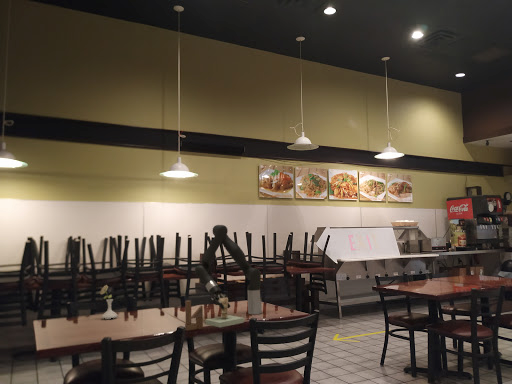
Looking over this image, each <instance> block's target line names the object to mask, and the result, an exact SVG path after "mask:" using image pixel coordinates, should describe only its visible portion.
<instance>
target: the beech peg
mask: <svg viewBox="0 0 512 384" xmlns="http://www.w3.org/2000/svg"><path fill="white" fill-rule="evenodd" d="M228 299H229V297H228V298H220V300H221V303H222V304H223V306H224V309H223V310H222V309H221V308H220V309H221V310H220V311H221V317H222V318H223V319H225V318H227V316H228V309H229V308H228V303H229V302H228Z"/></svg>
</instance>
